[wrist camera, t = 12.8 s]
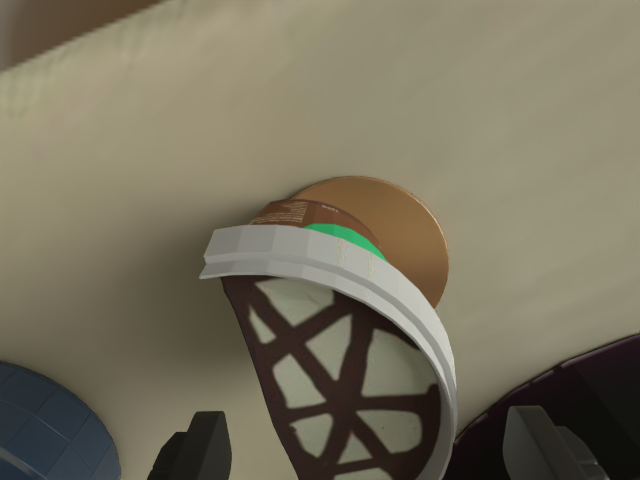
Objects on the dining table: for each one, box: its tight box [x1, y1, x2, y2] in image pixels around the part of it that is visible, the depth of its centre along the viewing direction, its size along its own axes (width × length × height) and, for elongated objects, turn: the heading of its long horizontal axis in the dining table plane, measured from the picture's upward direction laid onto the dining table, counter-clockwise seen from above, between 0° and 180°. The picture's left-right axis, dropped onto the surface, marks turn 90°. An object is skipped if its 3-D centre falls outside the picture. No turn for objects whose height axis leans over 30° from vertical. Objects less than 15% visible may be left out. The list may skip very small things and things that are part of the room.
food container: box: [199, 199, 458, 480], centre depth 16 cm, size 12×6×10 cm, turn 14°
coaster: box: [291, 176, 449, 309], centre depth 21 cm, size 10×10×1 cm
